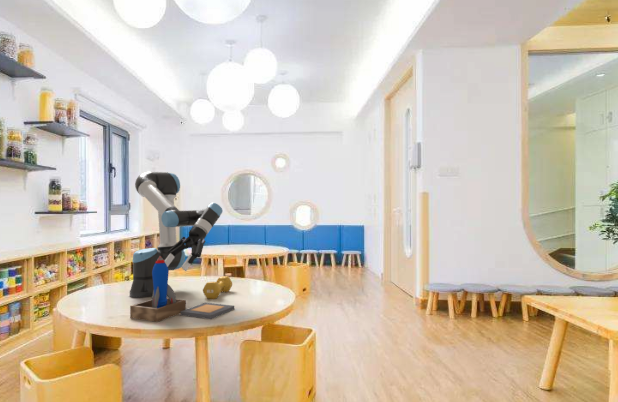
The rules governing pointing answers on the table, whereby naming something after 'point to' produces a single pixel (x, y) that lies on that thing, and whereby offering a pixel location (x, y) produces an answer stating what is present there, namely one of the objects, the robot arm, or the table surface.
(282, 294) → the table surface
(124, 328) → the table surface
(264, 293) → the table surface
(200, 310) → the pad
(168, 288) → the toy rocket
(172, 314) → the wooden tray
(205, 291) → the dumbbell
